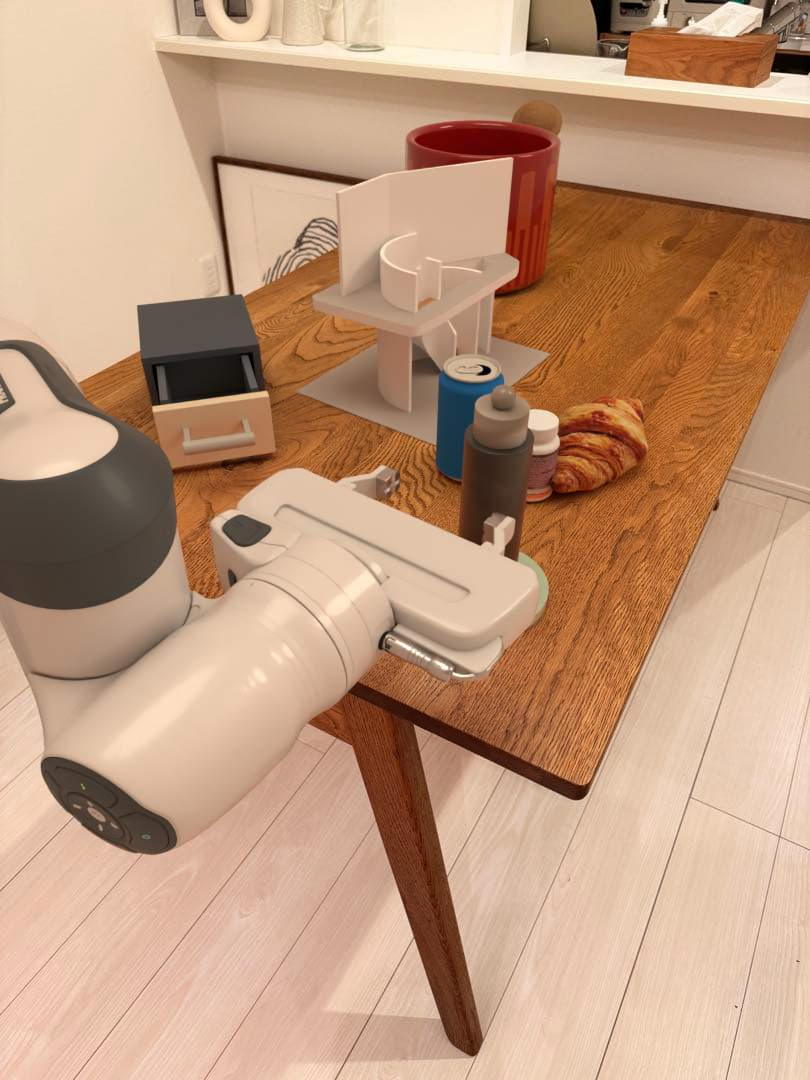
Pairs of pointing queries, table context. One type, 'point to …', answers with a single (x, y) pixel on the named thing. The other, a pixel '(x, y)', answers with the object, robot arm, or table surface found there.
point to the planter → (529, 180)
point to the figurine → (539, 116)
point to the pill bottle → (542, 453)
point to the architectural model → (420, 289)
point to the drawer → (212, 411)
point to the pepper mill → (496, 465)
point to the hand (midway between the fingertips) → (446, 498)
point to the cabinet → (195, 334)
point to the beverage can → (461, 405)
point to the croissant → (598, 443)
